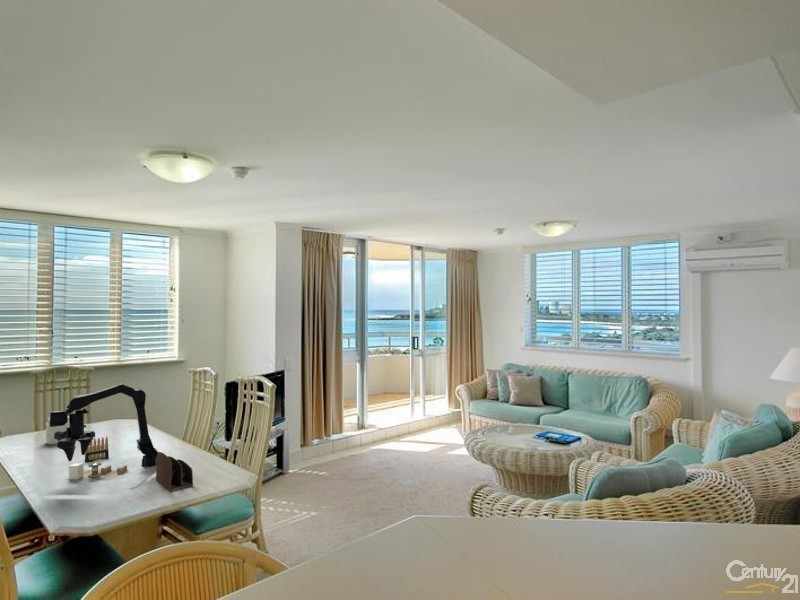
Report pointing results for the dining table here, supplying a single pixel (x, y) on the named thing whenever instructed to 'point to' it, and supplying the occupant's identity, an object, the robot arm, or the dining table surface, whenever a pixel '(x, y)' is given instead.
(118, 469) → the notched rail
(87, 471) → the board
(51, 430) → the jar
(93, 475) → the bobbin
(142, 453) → the robot arm
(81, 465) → the white block
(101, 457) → the ammunition clip
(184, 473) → the letter holder
